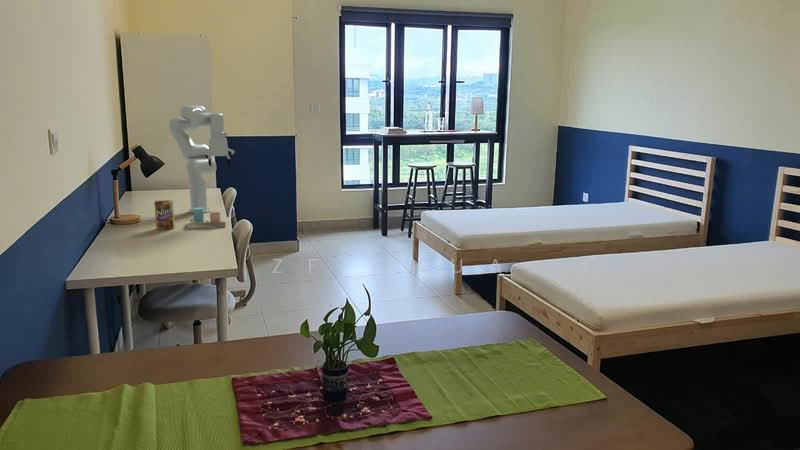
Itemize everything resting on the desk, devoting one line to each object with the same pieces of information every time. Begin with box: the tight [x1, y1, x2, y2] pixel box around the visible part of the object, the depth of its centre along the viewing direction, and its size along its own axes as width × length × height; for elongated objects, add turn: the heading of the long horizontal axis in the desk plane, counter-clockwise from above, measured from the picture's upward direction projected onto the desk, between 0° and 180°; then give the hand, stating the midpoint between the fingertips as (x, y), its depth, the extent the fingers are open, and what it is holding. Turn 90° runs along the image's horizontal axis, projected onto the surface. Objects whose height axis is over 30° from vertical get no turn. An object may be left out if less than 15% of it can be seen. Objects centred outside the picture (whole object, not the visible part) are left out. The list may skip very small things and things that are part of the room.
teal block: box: [192, 207, 205, 223], centre depth 350 cm, size 16×5×8 cm, turn 15°
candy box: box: [153, 199, 176, 230], centre depth 329 cm, size 9×4×15 cm, turn 98°
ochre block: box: [209, 210, 221, 222], centre depth 337 cm, size 5×5×8 cm
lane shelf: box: [186, 217, 227, 230], centre depth 337 cm, size 10×20×3 cm, turn 105°
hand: (219, 166), depth 349 cm, fingers open, 9 cm apart
